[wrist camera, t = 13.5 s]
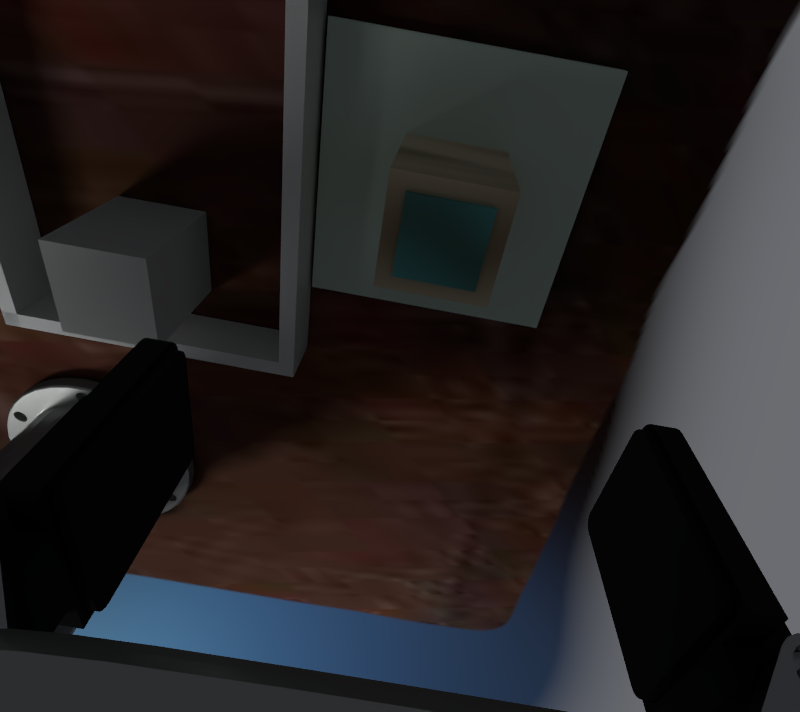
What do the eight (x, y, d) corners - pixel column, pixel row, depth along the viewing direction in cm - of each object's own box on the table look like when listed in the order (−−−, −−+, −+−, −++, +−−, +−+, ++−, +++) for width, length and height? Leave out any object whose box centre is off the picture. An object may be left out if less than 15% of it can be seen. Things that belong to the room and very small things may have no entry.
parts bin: (307, 346, 30) (292, 377, 27) (43, 298, 30) (5, 324, 27) (334, -130, 18) (314, -151, 16) (-98, -209, 18) (-186, -243, 16)
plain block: (211, 290, 28) (158, 349, 24) (132, 275, 28) (62, 331, 24) (206, 211, 26) (145, 258, 21) (119, 195, 26) (37, 239, 21)
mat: (535, 322, 27) (536, 328, 27) (314, 281, 27) (311, 286, 27) (624, 69, 21) (628, 71, 20) (331, 15, 21) (328, 16, 20)
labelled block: (482, 248, 25) (487, 310, 20) (391, 230, 25) (372, 288, 20) (508, 152, 22) (521, 194, 17) (406, 132, 22) (389, 169, 17)
